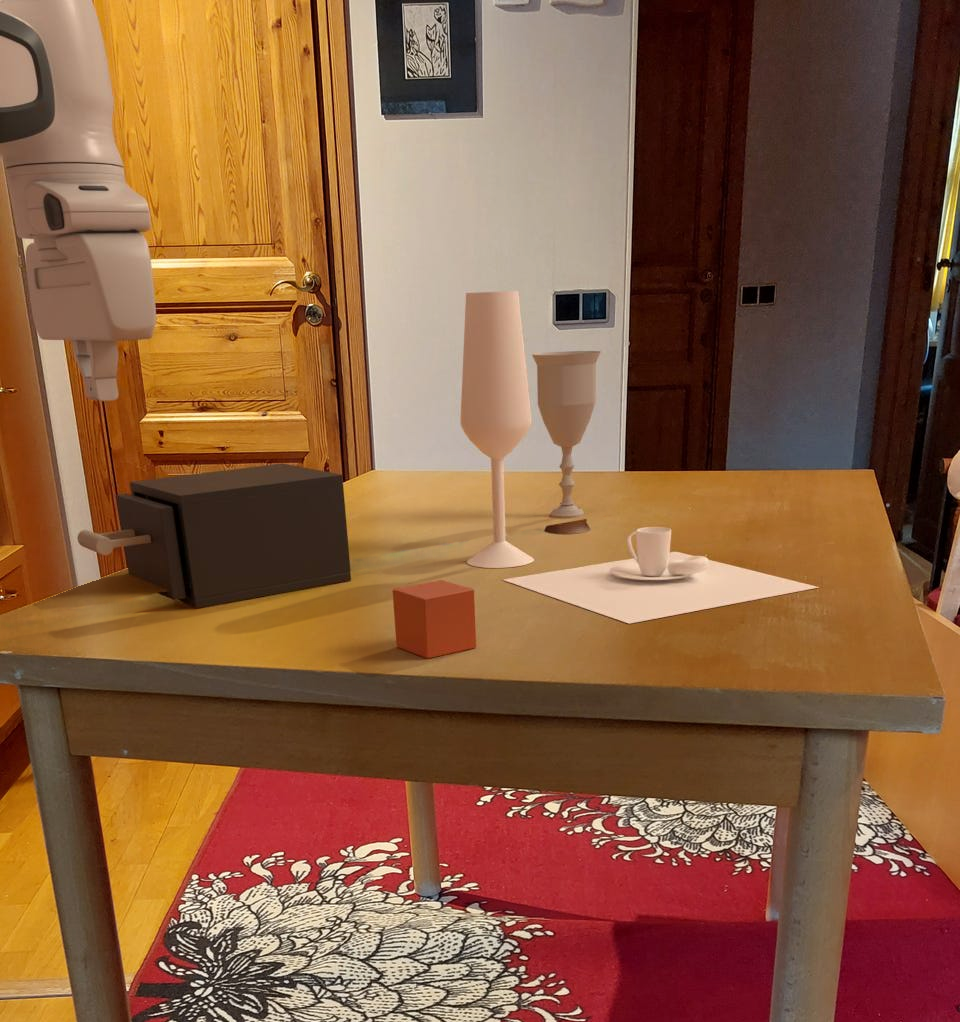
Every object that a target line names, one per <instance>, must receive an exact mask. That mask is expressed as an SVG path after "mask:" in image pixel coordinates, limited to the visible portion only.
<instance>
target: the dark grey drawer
mask: <svg viewBox="0 0 960 1022" xmlns="http://www.w3.org/2000/svg"><path fill="white" fill-rule="evenodd" d="M145 498H146V499H144V498H141V497H137V496H134V495H131V493H121V494H115V501H116V506H117V507H116V508H117V512H118V519H119V525H120V530H115V531H109V532H102V533H97V532H94V531H91V530H88V529H82V530H81V531H79V533H78V534H77V542H78V544H79V545H80V546H81V547H82V548H85V549H87V550H90V551H92V552H94V553H97V554H99V555H102V556H108V555H110V554H111V553H112V552H113V550H114V549H117V548H124V554H125V560H126V567H127V572H128V573H127V574H128V575H130V576H132V577H134V578H137V579H138V580H142V581H144V582H146V583H148V584H151V585H153V586H155V587H157V588H160V589H162V590H164V591H158V592H157V594H159V595H161V596H163V597H166V598H167V599H169V600H172V601H178V600H179V599H185V598H186V593H185V588H186V586H185V584H188V585H189V578H188V571H187V564H186V557H185V550H184V543H183V537H182V530H181V523H180V516H179V509H178V504H176V503H172V502H169V501H165V500H162V499H158V498H155V497H151V496H148V495H145ZM188 587H189V588H190V586H188Z"/></svg>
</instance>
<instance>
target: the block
mask: <svg viewBox="0 0 960 1022" xmlns="http://www.w3.org/2000/svg"><path fill="white" fill-rule="evenodd" d="M392 602H393V616H394V618H393V619H394V630H395V642H396V643H395V645H396V646H395V647H396V648H399V649H401V650H403V651H404V650H405V651H407V652H409V653H412V654H415V655H417V656H420V657H422V658H424V659H432V658H436V657H440V656H445V655H449V654H454V653H457V652H458V653H459V652H463V651H467V650H471V649H475V648H477V629H476V627H477V625H476V606H475V603H476V602H475V589H474V588H470V587H467V586H464V585H460V584H457V583H454V582H450V581H446V580H443V579H440V580H434V581H429V582H423V583H418V584H413V585H407V586H402V587H396V588H393V589H392Z"/></svg>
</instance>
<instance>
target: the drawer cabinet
mask: <svg viewBox="0 0 960 1022" xmlns="http://www.w3.org/2000/svg"><path fill="white" fill-rule="evenodd" d="M128 483H129V489H130V494H131V495H134V496H137V497H141V498H144V499H146V498H145V495H148V496H151V497H155V498H158V499H162V500H165V501H169V502H172V503H176V504H178V509H179V516H180V523H181V530H182V537H183V543H184V550H185V557H186V564H187V571H188V578H189V584H188V585H189V586H188V587H185V593H186V598H185V599H179V600H177V601H178V602H181V603H182V604H185V605H188V606H190V607H191V608H194V609H201V608H207V607H212V606H219V605H224V604H229V603H235V602H241V601H246V600H251V599H256V598H257V599H258V598H263V597H267V596H273V595H278V594H279V595H280V594H283V593H290V592H296V591H301V590H306V589H311V588H312V589H313V588H316V587H322V586H323V587H324V586H327V585H328V586H329V585H333V584H338V583H345V582H350V581H352V574H351V572H352V571H351V560H350V559H351V558H350V549H349V535H348V525H347V524H348V523H347V514H346V503H345V502H346V501H345V490H344V489H345V488H344V479H343V474H340V473H336V472H330V471H325V470H319V469H315V468H309V467H303V466H299V465H292V464H289V463H288V464H286V463H275V464H268V465H259V466H258V465H257V466H251V467H242V468H233V469H225V470H216V471H210V472H209V471H208V472H201V473H192V474H183V475H176V476H175V475H174V476H166V477H159V478H149V479H143V480H141V479H140V480H134V481H133V480H132V481H129V482H128ZM189 587H190V588H189ZM262 596H263V597H262Z"/></svg>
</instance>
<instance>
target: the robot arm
mask: <svg viewBox="0 0 960 1022" xmlns="http://www.w3.org/2000/svg"><path fill="white" fill-rule="evenodd" d="M100 24H101V23H100V21H99V17H98V13H97V11H96V8H95V5H94V1H93V0H0V157H1V158H2V162H3V166H4V171H5V177H6V182H7V187H8V193H9V198H10V204H11V209H12V215H13V220H14V225H15V232H16V237H18V238H19V239H26V240H33V242H31V243H29V244H28V245H27V246H26V249H25V269H26V278H27V285H28V286H27V287H28V295H29V300H30V307H31V313H32V319H33V324H34V327H35V330H36V332H37V334H38V337H39V339H41V340H43V341H44V340H45V341H70V343H71V347H72V348H71V349H72V356H73V358H74V359H75V362H76V364H77V367H78V369H79V372H80V374H81V376H82V378H83V384H84V389H85V396H86V397H87V399H89V400H91V401H98V402H110V401H116V400H117V399H118V398H119V395H120V394H119V388H118V382H117V375H118V364H119V354H120V353H119V350H118V349H119V348H118V342H120V341H121V342H122V341H123V342H124V341H140V340H150V339H152V338H153V336H154V333H155V329H156V322H157V310H156V297H155V286H154V275H153V269H152V268H153V267H152V260H151V253H150V248H149V244H148V240H147V239H146V237H145V235H144V234H143V233H147V232H148V231H150V230H151V226H152V221H151V212H150V206H149V204H148V201H147V200H146V198H144V197H143V196H142V195H141V194H139V193H138V192H136V191H135V190H133V189H132V188H131V187H130V185H129V183H127V182H126V175H125V174H126V173H125V168H124V163H123V160H122V157H121V154H120V152H119V149H118V147H117V144H116V140H115V135H114V128H113V121H114V120H113V119H114V109H115V102H114V101H115V99H114V93H113V87H112V86H113V85H112V81H111V74H110V68H109V63H108V62H109V61H108V56H107V51H106V46H105V42H104V38H103V33H102V28H101V25H100Z"/></svg>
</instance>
